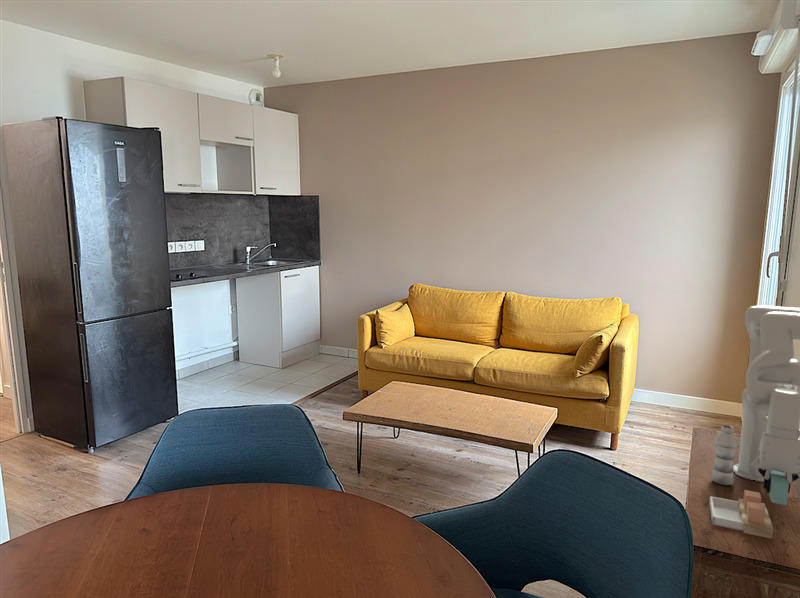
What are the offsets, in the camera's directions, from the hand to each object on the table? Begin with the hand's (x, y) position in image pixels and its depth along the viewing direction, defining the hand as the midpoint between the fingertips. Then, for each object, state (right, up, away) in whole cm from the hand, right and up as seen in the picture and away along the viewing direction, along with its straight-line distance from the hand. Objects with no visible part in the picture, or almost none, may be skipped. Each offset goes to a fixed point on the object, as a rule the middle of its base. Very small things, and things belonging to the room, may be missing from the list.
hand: (775, 492), depth 165 cm
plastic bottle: (+1, -7, +29) cm, 30 cm away
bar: (0, -1, 0) cm, 1 cm away
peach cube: (-6, -8, 0) cm, 10 cm away
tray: (-11, -10, +7) cm, 16 cm away
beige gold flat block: (-4, -10, +4) cm, 11 cm away
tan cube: (-3, -7, +7) cm, 10 cm away
